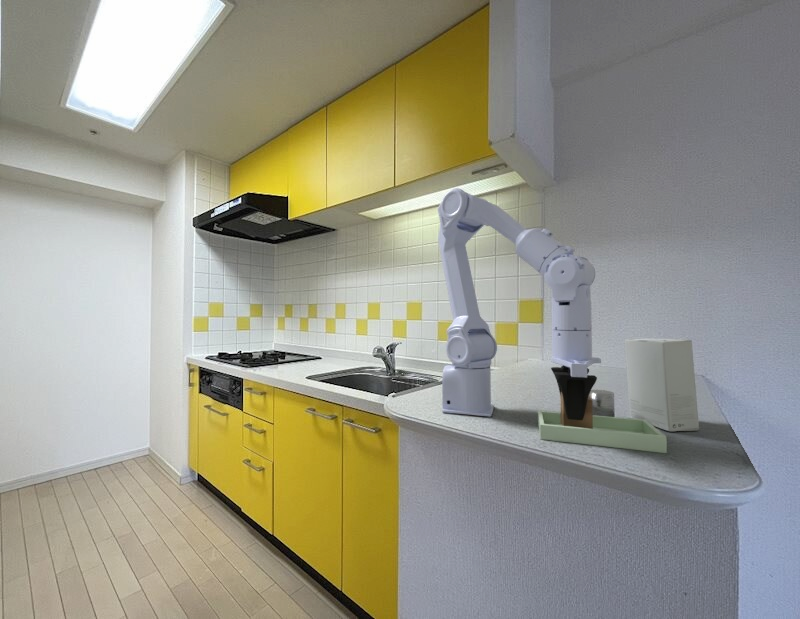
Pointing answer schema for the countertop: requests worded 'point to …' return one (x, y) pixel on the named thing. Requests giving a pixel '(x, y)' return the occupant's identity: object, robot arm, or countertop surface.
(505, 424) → the countertop surface
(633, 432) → the parts tray
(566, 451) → the countertop surface
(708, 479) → the countertop surface
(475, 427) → the countertop surface
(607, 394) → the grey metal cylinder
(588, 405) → the walnut block
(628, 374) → the skincare box
